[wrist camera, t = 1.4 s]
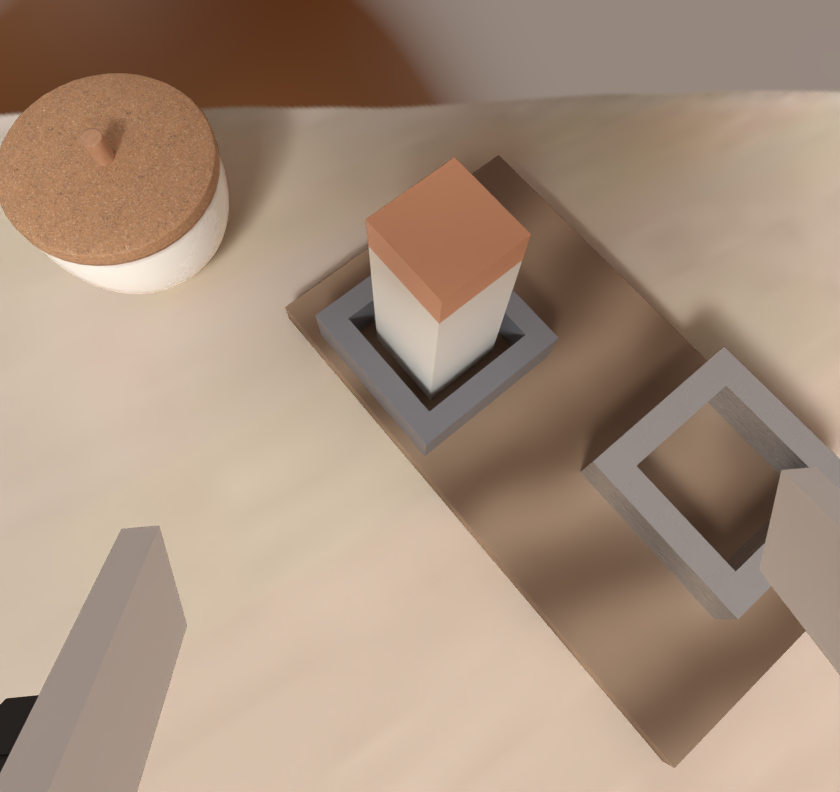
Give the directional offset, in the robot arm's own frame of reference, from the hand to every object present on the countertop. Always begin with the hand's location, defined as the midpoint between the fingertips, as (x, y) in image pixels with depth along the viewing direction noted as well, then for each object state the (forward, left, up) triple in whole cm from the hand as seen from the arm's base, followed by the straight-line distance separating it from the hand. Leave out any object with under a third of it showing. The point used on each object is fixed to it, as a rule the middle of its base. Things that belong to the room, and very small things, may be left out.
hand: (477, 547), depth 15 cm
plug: (-10, +8, -20) cm, 24 cm away
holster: (-10, +8, -20) cm, 24 cm away
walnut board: (-2, +11, -22) cm, 24 cm away
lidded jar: (-26, 0, -22) cm, 34 cm away
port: (+5, +14, -20) cm, 25 cm away
